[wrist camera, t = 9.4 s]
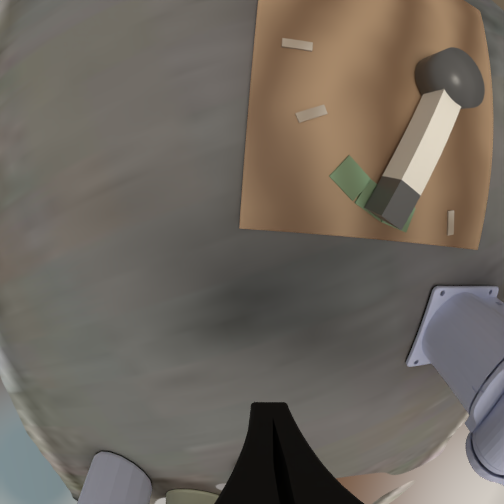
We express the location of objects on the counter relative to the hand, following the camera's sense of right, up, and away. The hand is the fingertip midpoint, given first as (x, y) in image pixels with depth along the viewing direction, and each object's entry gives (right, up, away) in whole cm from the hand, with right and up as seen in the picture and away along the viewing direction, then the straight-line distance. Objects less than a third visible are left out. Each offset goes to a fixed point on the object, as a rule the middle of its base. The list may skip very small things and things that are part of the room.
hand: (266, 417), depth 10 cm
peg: (+10, +14, +5) cm, 18 cm away
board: (+9, +18, +5) cm, 21 cm away
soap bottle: (-19, -24, +18) cm, 35 cm away
